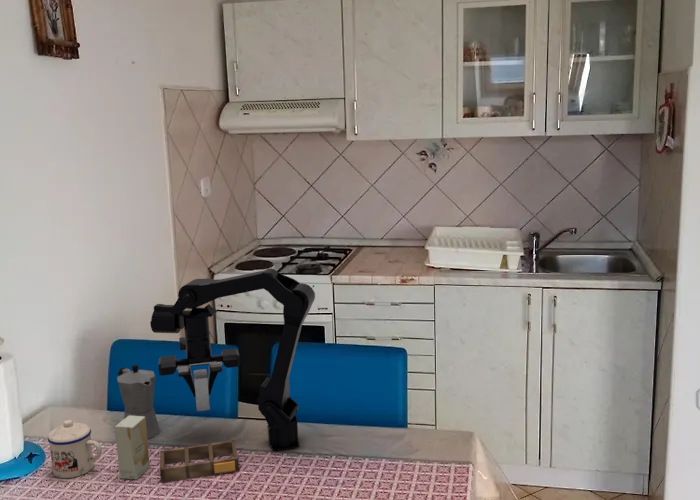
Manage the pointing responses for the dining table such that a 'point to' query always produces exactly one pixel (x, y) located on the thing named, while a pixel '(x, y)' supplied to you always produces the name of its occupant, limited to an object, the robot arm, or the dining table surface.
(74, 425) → the teacup with lid
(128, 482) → the dining table surface
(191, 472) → the rack
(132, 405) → the coffeepot
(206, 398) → the grey metallic rectangular block
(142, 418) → the skincare box
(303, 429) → the dining table surface
